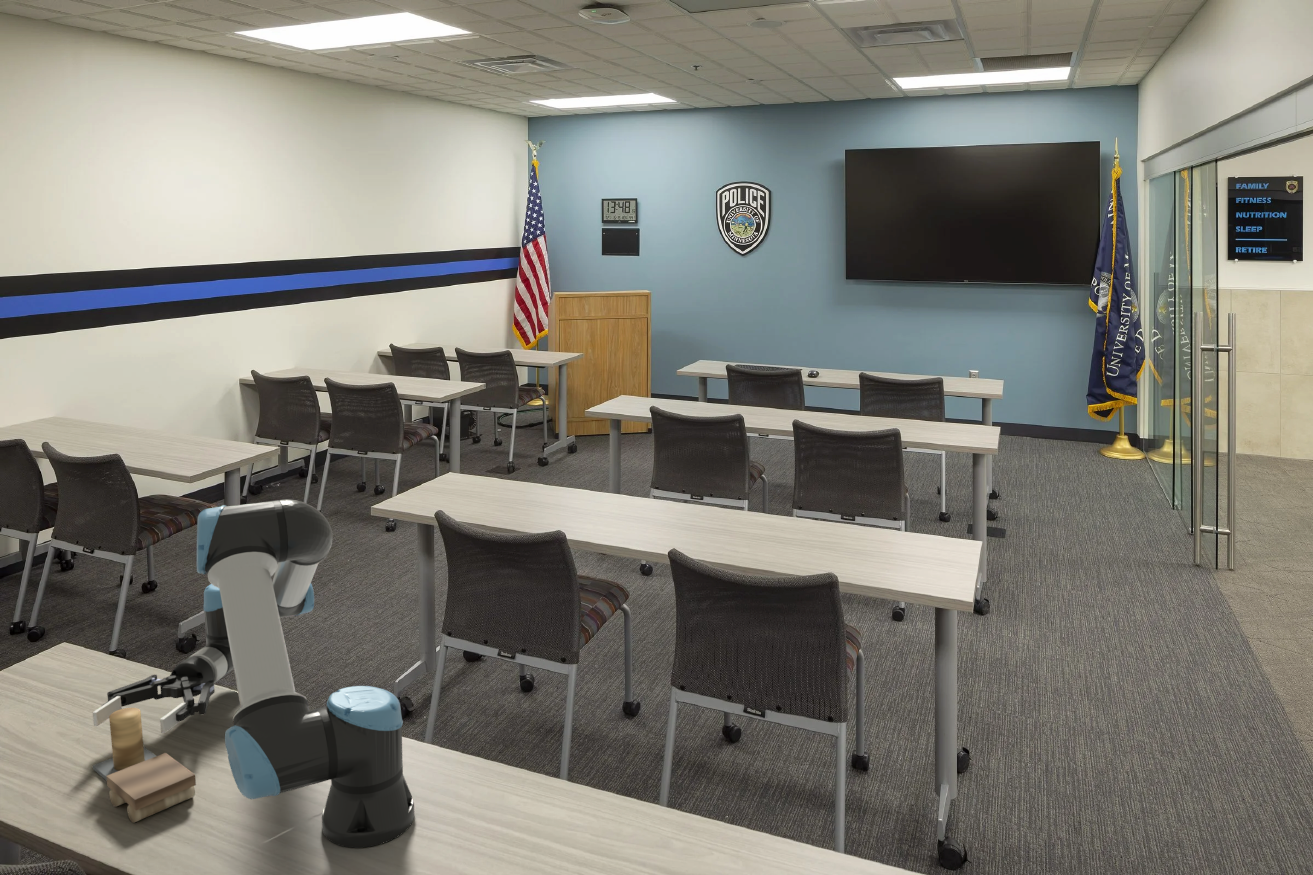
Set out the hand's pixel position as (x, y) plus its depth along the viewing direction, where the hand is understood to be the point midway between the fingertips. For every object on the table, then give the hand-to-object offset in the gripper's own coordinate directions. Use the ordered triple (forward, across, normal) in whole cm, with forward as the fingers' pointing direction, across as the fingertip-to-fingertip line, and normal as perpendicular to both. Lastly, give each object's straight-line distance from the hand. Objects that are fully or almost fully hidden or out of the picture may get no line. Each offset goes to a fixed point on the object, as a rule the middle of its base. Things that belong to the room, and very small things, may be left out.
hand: (128, 722), depth 171 cm
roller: (+1, 0, -8) cm, 8 cm away
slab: (+10, -12, -8) cm, 17 cm away
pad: (+1, 0, -8) cm, 9 cm away
